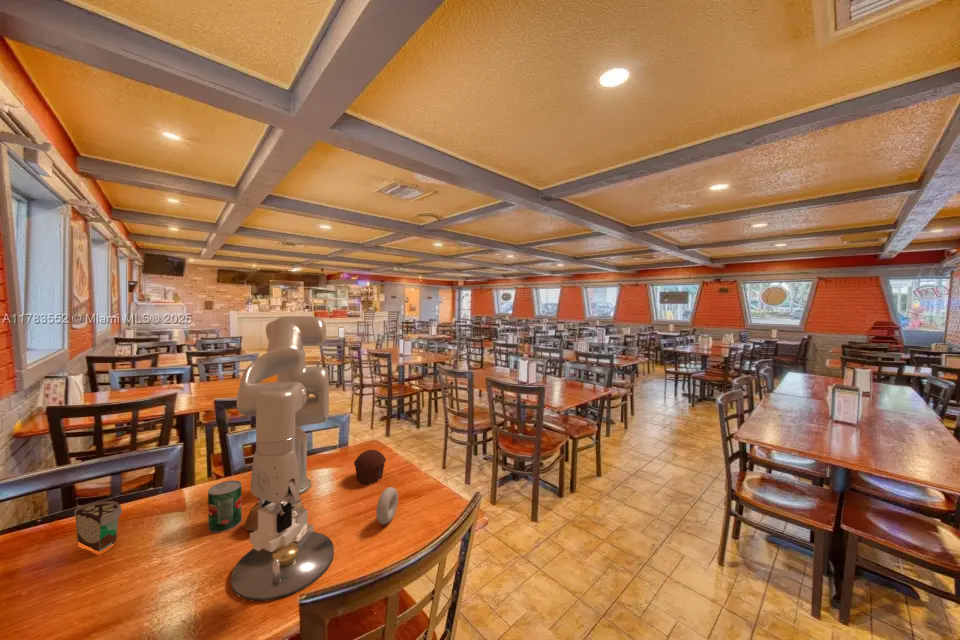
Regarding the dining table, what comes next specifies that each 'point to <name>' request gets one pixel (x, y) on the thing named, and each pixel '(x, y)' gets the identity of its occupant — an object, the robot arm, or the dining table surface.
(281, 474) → the robot arm
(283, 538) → the hollow square tube block
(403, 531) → the dining table surface
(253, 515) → the bread roll
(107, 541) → the food container
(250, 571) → the carrier
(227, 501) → the canned tomato
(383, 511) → the donut
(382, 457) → the muffin
